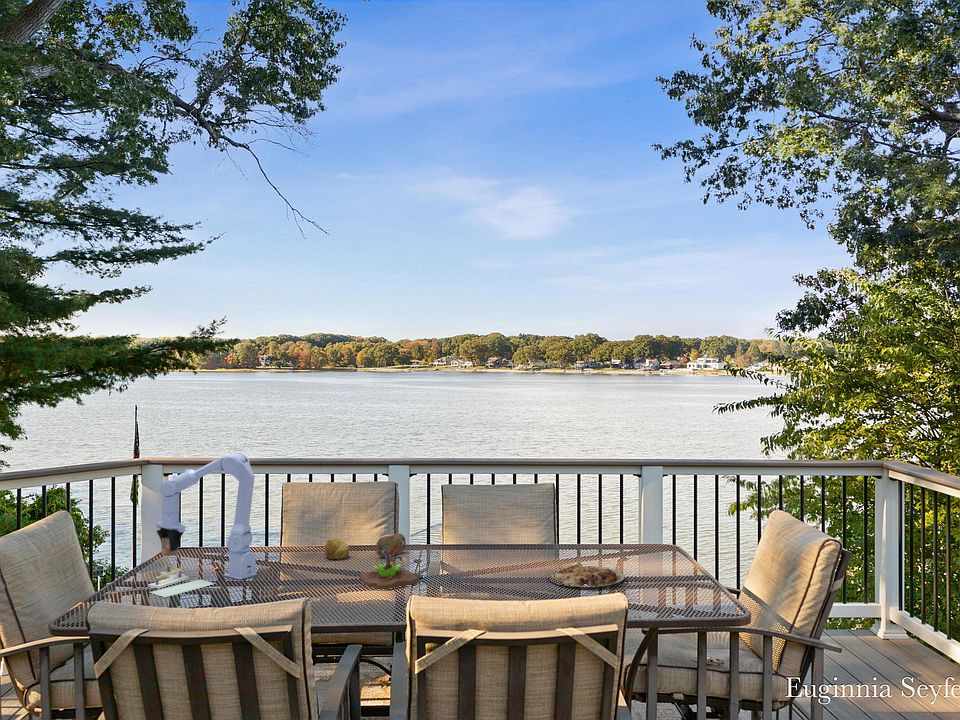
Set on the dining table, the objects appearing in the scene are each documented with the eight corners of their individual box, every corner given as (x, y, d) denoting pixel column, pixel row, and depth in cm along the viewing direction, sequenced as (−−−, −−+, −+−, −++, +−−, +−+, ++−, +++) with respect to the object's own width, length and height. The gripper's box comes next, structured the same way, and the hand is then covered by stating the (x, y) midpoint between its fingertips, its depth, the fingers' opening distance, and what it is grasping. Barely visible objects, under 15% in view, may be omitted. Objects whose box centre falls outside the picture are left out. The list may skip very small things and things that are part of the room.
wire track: (199, 578, 255) (200, 568, 256) (156, 590, 242) (156, 579, 242) (172, 571, 265) (172, 561, 265) (128, 582, 251) (129, 571, 251)
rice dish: (537, 589, 251) (537, 573, 251) (558, 566, 277) (558, 552, 277) (616, 598, 241) (616, 582, 241) (631, 574, 266) (631, 560, 266)
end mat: (215, 584, 248) (215, 583, 248) (165, 598, 233) (165, 596, 233) (199, 580, 253) (199, 579, 253) (149, 593, 238) (149, 592, 238)
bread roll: (323, 554, 294) (324, 534, 294) (347, 552, 296) (348, 533, 297) (324, 561, 282) (325, 541, 282) (349, 560, 284) (350, 540, 284)
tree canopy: (380, 559, 285) (380, 538, 286) (374, 558, 287) (375, 537, 288) (406, 552, 297) (406, 532, 298) (400, 551, 299) (400, 531, 300)
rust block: (178, 553, 262) (178, 537, 263) (168, 556, 259) (168, 539, 259) (171, 552, 264) (171, 536, 265) (161, 554, 261) (161, 538, 261)
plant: (400, 572, 268) (400, 542, 268) (425, 584, 252) (426, 552, 252) (350, 580, 257) (351, 548, 257) (374, 593, 241) (374, 560, 241)
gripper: (192, 512, 262) (191, 550, 261) (168, 508, 269) (167, 544, 269) (175, 515, 256) (174, 553, 255) (151, 511, 263) (150, 548, 263)
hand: (169, 549), depth 262 cm, fingers closed on rust block, 4 cm apart
